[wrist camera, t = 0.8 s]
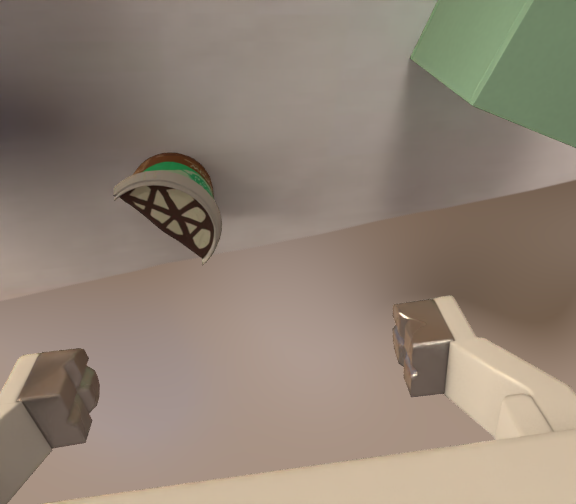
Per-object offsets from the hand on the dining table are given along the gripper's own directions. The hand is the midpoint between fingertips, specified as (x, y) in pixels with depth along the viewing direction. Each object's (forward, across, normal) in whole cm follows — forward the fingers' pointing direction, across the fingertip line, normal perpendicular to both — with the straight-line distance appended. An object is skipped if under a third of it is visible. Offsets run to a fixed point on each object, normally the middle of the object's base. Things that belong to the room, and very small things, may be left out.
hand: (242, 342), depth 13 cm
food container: (+44, +9, +14) cm, 47 cm away
